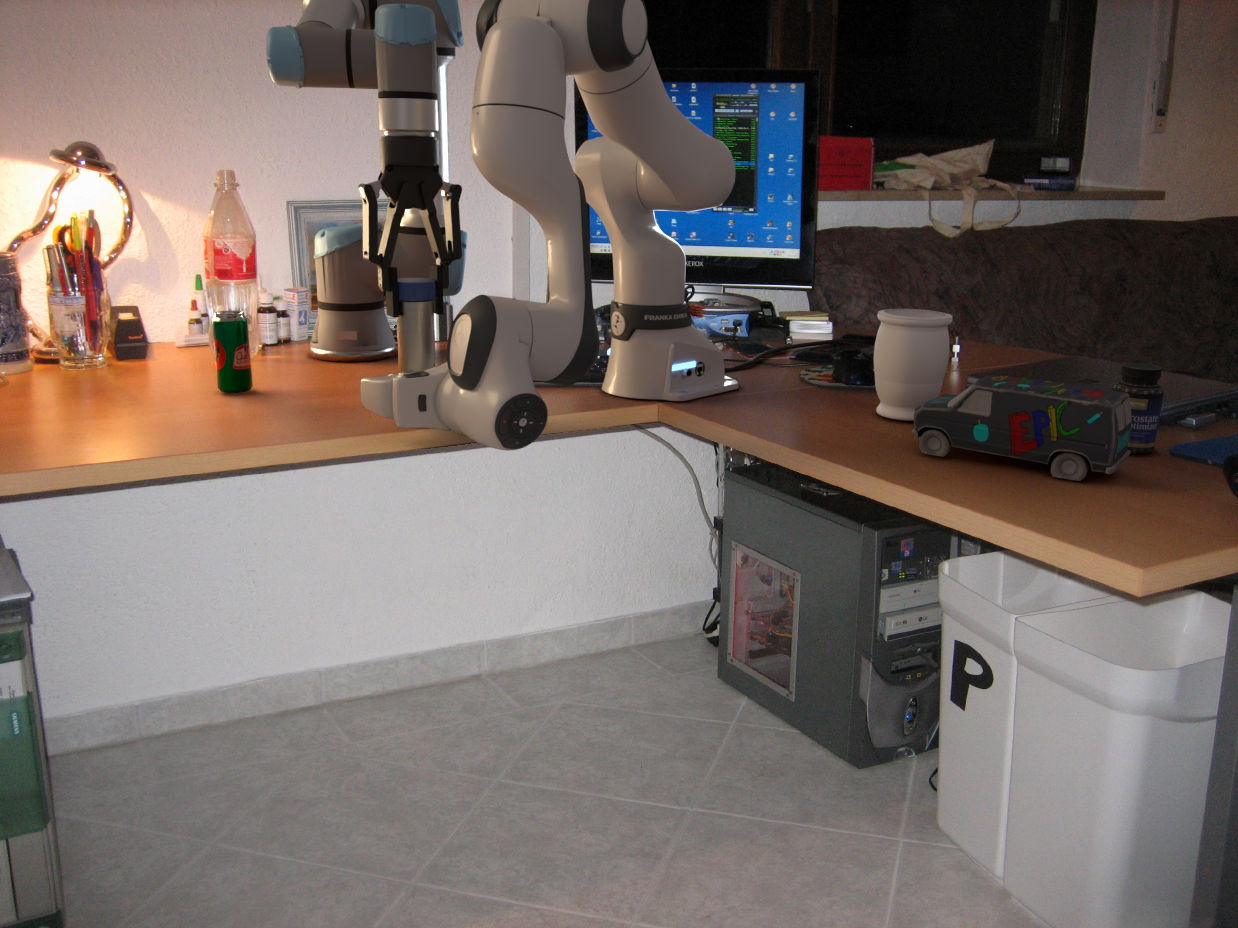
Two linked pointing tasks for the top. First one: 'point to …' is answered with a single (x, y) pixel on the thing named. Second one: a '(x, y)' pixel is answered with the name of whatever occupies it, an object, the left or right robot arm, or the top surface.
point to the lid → (416, 289)
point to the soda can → (232, 352)
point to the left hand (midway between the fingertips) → (415, 314)
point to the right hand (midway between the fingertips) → (414, 377)
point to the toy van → (1031, 424)
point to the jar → (909, 359)
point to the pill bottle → (1142, 403)
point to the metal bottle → (415, 336)
